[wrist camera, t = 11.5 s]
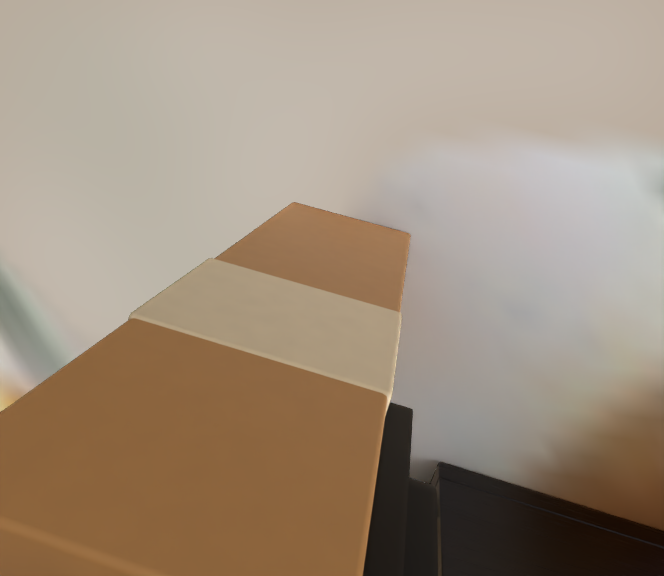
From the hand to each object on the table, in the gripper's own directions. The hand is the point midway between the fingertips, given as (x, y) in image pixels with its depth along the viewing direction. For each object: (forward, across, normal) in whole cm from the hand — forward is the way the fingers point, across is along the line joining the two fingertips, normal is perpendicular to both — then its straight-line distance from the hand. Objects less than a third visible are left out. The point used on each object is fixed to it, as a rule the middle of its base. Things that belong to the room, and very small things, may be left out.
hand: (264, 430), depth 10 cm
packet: (+7, 0, 0) cm, 7 cm away
